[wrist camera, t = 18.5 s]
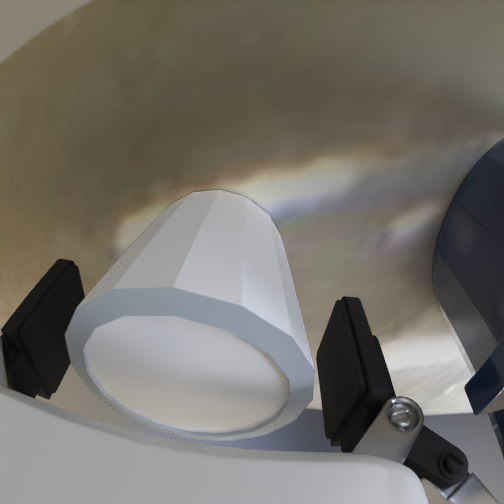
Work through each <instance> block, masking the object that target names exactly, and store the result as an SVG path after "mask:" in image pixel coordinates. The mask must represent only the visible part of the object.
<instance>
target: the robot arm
mask: <svg viewBox="0 0 504 504" xmlns="http://www.w3.org/2000/svg"><path fill="white" fill-rule="evenodd" d="M84 298H85V295H84V291H83V287H82V282H81V278H80V273H79V268H78V266H76V265H75V263H74V261H71V260H65V259H59V260H57V261H56V262H55V264H54V265H53V266H52V267H51V268H50V269H49V270H48V272H47V273H46V274H45V275H44V276H43V277H42V279H41V280H40V281H39V282H38V283H37V285H36V286H35V287H34V288H33V289H32V291H31V292H30V293H29V294H28V295H27V297H26V298H25V299H24V300H23V302H22V303H21V304H20V305H19V307H18V308H17V309H16V311H15V312H14V313H13V315H12V316H11V317H10V318H9V320H8V321H7V322H6V324H5V325H4V327H3V328H2V329H1V331H2V333H3V334H2V335H1V337H0V504H499V503H498V502H497V500H496V499H495V498H494V497H493V496H492V494H491V493H490V492H489V491H488V490H487V488H486V487H485V486H484V485H483V484H482V482H481V481H480V480H479V479H478V478H477V476H476V475H475V474H474V473H471V474H469V473H468V461H467V458H466V456H465V454H464V453H463V452H462V451H461V450H460V449H459V448H457V447H456V446H454V445H452V444H451V443H450V442H448V441H447V440H445V439H444V438H442V437H441V436H439V435H438V434H436V433H435V432H433V431H431V430H430V429H429V428H427V427H426V426H424V425H423V422H424V415H423V412H422V410H421V408H420V407H419V405H418V404H417V403H416V402H414V401H413V400H412V399H409V398H407V397H402V396H398V397H396V395H395V391H394V388H393V385H392V381H391V378H390V375H389V372H388V368H387V365H386V362H385V359H384V356H383V353H382V350H381V347H380V344H379V341H378V339H377V337H376V336H375V335H372V333H371V330H370V327H369V324H368V321H367V318H366V315H365V312H364V309H363V306H362V303H361V301H360V299H359V298H357V297H346V296H344V297H342V299H341V300H337V301H336V303H335V306H334V308H333V311H332V314H331V317H330V319H329V322H328V325H327V328H326V330H325V333H324V335H323V338H322V341H321V343H320V346H319V348H318V351H317V356H316V361H317V369H318V376H319V384H320V392H321V400H322V409H323V418H324V426H325V435H326V438H327V439H330V440H331V446H341V450H342V452H343V453H333V452H332V453H331V452H289V451H288V452H287V451H271V450H270V451H269V450H255V449H243V448H233V447H224V446H216V445H208V444H201V443H195V442H189V441H182V440H176V439H172V438H166V437H161V436H156V435H151V434H147V433H143V432H138V431H134V430H130V429H126V428H122V427H118V426H115V425H111V424H108V423H104V422H101V421H97V420H94V419H90V418H87V417H84V416H81V415H78V414H75V413H72V412H69V411H66V410H63V409H61V408H58V407H55V406H52V405H49V404H47V403H45V402H42V401H39V400H37V399H35V396H36V395H38V396H41V397H44V398H46V399H50V397H51V395H52V393H55V392H56V391H57V389H58V387H59V385H60V383H61V381H62V379H63V377H64V375H65V373H66V371H67V369H68V367H69V365H70V363H71V362H70V357H69V353H68V348H67V344H66V339H65V333H66V331H67V328H68V326H69V324H70V321H71V319H72V317H73V315H74V313H75V310H76V308H77V307H78V306H79V304H80V303H81V302H82V301H83V299H84Z"/></svg>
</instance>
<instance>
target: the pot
mask: <svg viewBox="0 0 504 504" xmlns="http://www.w3.org/2000/svg"><path fill="white" fill-rule="evenodd" d="M432 282H433V290H434V295H435V298H436V302H437V304H438V306H439V308H440V310H441V312H442V315H443V317H444V320H445V322H446V324H447V326H448V328H449V330H450V332H451V334H452V336H453V337H454V339H455V341H456V343H457V345H458V347H459V349H460V351H461V354H462V356H463V358H464V360H465V362H466V364H467V366H468V368H469V370H470V373H471V375H472V378H471V379H470V380H469V381H468V382H467V384H466V385H465V387H464V389H465V392H466V394H467V397H468V399H469V402H470V404H471V407H472V409H473V412H474V414H475V415H482V414H486V413H488V415H489V418H490V420H491V423H492V425H493V428H494V431H495V434H496V437H497V440H498V443H499V445H500V448H501V451H502V455H503V458H504V139H503V140H501V141H499V142H498V143H497V144H496V145H495V146H493V147H492V148H491V149H490V150H489V151H488V152H487V153H486V154H485V155H484V156H483V157H482V158H481V159H480V160H479V161H478V162H477V164H476V165H475V166H474V168H473V169H472V170H471V171H470V173H469V174H468V175H467V177H466V178H465V180H464V182H463V183H462V185H461V186H460V188H459V190H458V191H457V193H456V195H455V197H454V199H453V201H452V203H451V205H450V207H449V209H448V212H447V214H446V216H445V219H444V221H443V224H442V227H441V230H440V233H439V236H438V240H437V244H436V248H435V253H434V260H433V268H432Z"/></svg>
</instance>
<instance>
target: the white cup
mask: <svg viewBox="0 0 504 504" xmlns="http://www.w3.org/2000/svg"><path fill="white" fill-rule="evenodd" d="M65 339H66V344H67V348H68V353H69V357H70V362H71V365H72V366H73V367H74V369H75V370H76V371H77V373H78V374H79V376H80V377H81V379H82V380H83V381H84V383H85V384H86V385H87V386H88V388H89V389H90V391H92V392H93V393H94V394H95V395H97V396H98V397H99V398H100V399H101V400H103V401H104V402H105V403H106V404H108V405H109V406H110V407H112V408H113V409H114V410H116V411H117V412H118V413H120V414H122V415H124V416H126V417H128V418H130V419H132V420H134V421H136V422H138V423H140V424H143V425H145V426H147V427H149V428H151V429H154V430H157V431H161V432H165V433H169V434H172V435H177V436H181V437H185V438H189V439H199V440H218V441H230V440H238V439H244V438H250V437H256V436H261V435H265V434H267V433H270V432H272V431H274V430H276V429H278V428H280V427H283V426H285V425H287V424H289V423H291V422H293V421H294V420H295V419H296V418H297V417H298V416H299V415H300V413H301V412H302V411H303V410H304V409H305V408H306V406H307V405H308V404H309V403H310V402H311V401H312V399H313V389H314V374H315V369H314V365H313V361H312V356H311V352H310V348H309V344H308V340H307V336H306V331H305V327H304V323H303V319H302V315H301V311H300V307H299V303H298V299H297V295H296V291H295V288H294V284H293V280H292V276H291V272H290V268H289V264H288V261H287V257H286V253H285V249H284V245H283V242H282V238H281V235H280V233H279V231H278V230H277V228H276V226H275V224H274V223H273V221H272V219H271V217H270V216H269V214H268V213H267V212H265V211H264V210H263V209H261V208H260V207H259V206H258V205H256V204H255V203H254V202H252V201H251V200H250V199H248V198H247V197H244V196H240V195H237V194H233V193H230V192H226V191H223V190H211V191H201V192H192V193H190V194H188V195H187V196H185V197H183V198H181V199H180V200H178V201H176V202H174V203H172V204H171V205H169V206H168V207H167V208H166V209H165V210H164V211H163V212H162V213H161V214H160V215H159V217H158V218H157V219H156V220H155V221H154V222H153V223H152V224H151V225H150V226H149V227H148V228H147V229H146V230H145V231H144V232H143V233H142V234H141V235H140V236H139V237H138V238H137V240H136V241H135V242H134V243H133V244H132V245H131V246H130V247H129V248H128V249H127V250H126V251H125V253H124V254H123V255H122V256H121V257H120V258H119V259H118V260H117V261H116V262H115V264H114V265H113V266H112V267H111V268H110V269H109V270H108V271H107V273H106V274H105V275H104V276H103V277H102V278H101V280H100V281H99V282H98V283H97V284H96V285H95V286H94V288H93V289H92V290H91V291H90V292H89V294H88V295H87V296H86V297H85V298H84V299H83V301H82V302H81V303H80V304H79V306H78V307H77V308H76V310H75V313H74V315H73V317H72V319H71V321H70V324H69V326H68V328H67V331H66V333H65Z"/></svg>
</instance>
